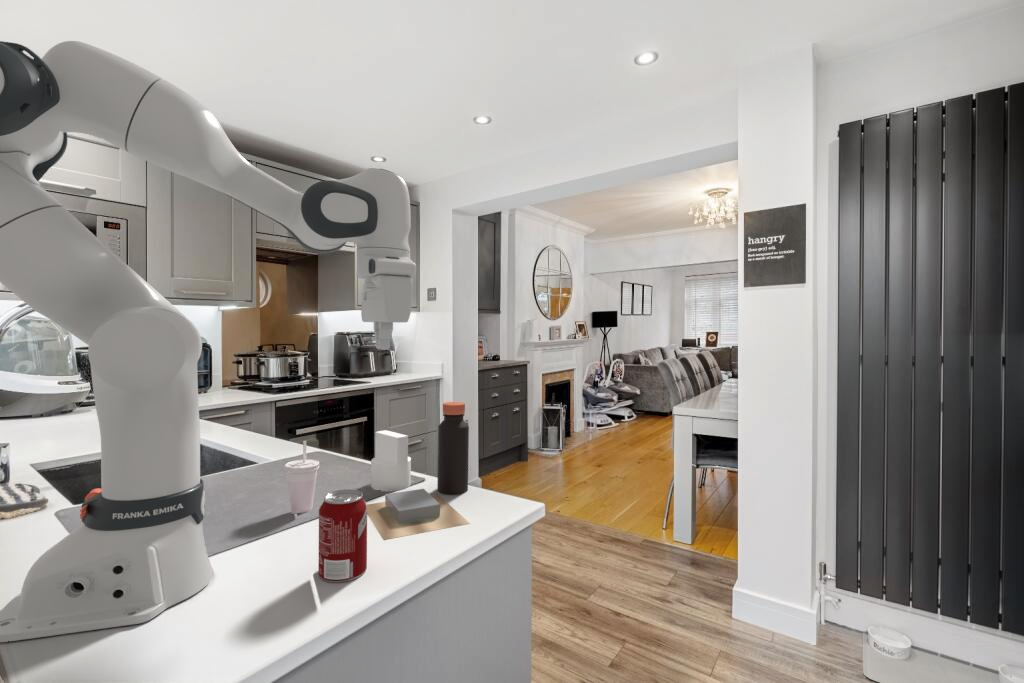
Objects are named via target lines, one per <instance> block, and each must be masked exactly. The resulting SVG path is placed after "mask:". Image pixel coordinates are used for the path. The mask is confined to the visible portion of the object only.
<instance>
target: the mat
mask: <svg viewBox="0 0 1024 683" xmlns="http://www.w3.org/2000/svg"><path fill="white" fill-rule="evenodd" d="M430 495H431V496H432V497H433V498H434V499H435V500H436V501H437V502H438V503H439V504H440V516H439V517H437V518H431V519H426V520H420V521H414V522H409V523H403V524H399V523H398V522H397V521H396V520H395V518H394V517H393V516H392V514H391V513H390V512H389V510H388V509H387V508H386V505H385V501H381V502H376V503H375V502H374V503H373V502H372V503H368V504H367V517H368V518H369V519H370V520H371V522H372V524H373V525H374V527H375V528H376V530H377V531H378V533H379V535H380V537H381V538H382V540H384V541H386V540H391V539H392V540H393V539H396V538H402V537H403V538H404V537H407V536H412V535H417V534H425V533H429V532H433V531H439V530H440V531H441V530H444V529H445V530H446V529H449V528H450V529H451V528H454V527H456V528H457V527H459V526H465V525H470V524H471V523H470V522H469V521H468V520H467V519H466V518H465V517H464V516H463V515H462V514H460V513H459V511H457V510H456V509H455V508H453V507H452V506H451V505H450V504H449V503H448V502H447V501H446V500H445V499H444V498H443V497H442V496H440V495H439V494H438V493H434V494H432V493H431V494H430Z"/></svg>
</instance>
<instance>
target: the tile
mask: <svg viewBox="0 0 1024 683" xmlns="http://www.w3.org/2000/svg"><path fill="white" fill-rule="evenodd" d="M431 495H432V494H430V493H429V492H428V491H427V490H426V489H425V488H419V489H412V490H406V491H405V490H404V491H400V492H399V491H398V492H392V493H385V494H384V498H385V501H384V502H385V505H386V508H387V509H388V510H389V512H390V513H391V514H392V516H393V517H394V518H395V520H396V521H397V522H398V523H399V524H403V523H409V522H414V521H420V520H426V519H431V518H437V517H439V516H440V504H439V503H438V502H437V501H436V500H435V499H434V498H433V497H432V496H431Z"/></svg>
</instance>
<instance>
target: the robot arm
mask: <svg viewBox="0 0 1024 683" xmlns="http://www.w3.org/2000/svg"><path fill="white" fill-rule="evenodd" d="M25 52H26V53H27V54H26V53H25ZM28 54H29V55H30V56H29V55H28ZM32 57H33V58H32ZM68 133H78V134H83V135H84V134H85V135H89V136H93V137H96V138H99V139H103V140H104V141H106V142H108V143H110V144H112V145H113V146H115V147H117V148H119V149H120V150H123V151H125V152H126V153H129V154H131V155H133V156H135V157H137V158H139V159H141V160H144V161H146V162H147V163H150V164H152V165H155V166H156V167H160V168H162V169H164V170H167V171H169V172H172V173H174V174H177V175H179V176H182V177H184V178H186V179H189V180H191V181H194V182H197V183H199V184H201V185H204V186H206V187H208V188H211V189H213V190H215V191H217V192H220V193H223V194H224V195H226V196H228V197H230V198H232V199H234V200H235V201H237V202H239V203H241V204H243V205H245V206H246V207H249V209H252V210H254V211H256V212H258V213H260V214H262V215H263V216H265V217H267V218H269V219H270V220H273V221H275V222H276V223H278V224H279V225H280V226H281V227H283V228H284V229H285V230H286V232H288V233H289V235H291V236H292V238H294V240H295V241H296V242H297V243H298V244H299V245H300V246H302V247H303V248H305V249H306V250H308V251H309V252H312V253H316V254H321V255H322V254H324V255H325V254H326V255H327V254H332V253H334V252H337V251H339V250H341V249H342V248H343V247H344V246H345V245H346V244H347V243H353V244H355V245H356V277H357V278H359V279H361V280H364V283H363V286H362V290H361V291H362V293H361V311H360V312H361V320H362V322H363V323H373V332H374V333H373V334H374V336H375V348H376V349H377V350H383V351H384V350H386V351H387V350H390V349H391V340H392V334H393V330H394V323H408V322H409V319H410V318H411V317H410V316H411V313H412V302H413V290H414V289H413V286H414V285H413V284H414V283H413V278H414V277H416V274H417V265H416V263H415V262H414V261H413V259H411V247H410V244H409V234H410V231H411V228H412V227H411V226H412V223H411V219H412V218H411V211H412V210H411V199H410V198H411V197H410V192H409V187H408V185H407V183H406V181H405V180H404V179H403V178H402V177H400V175H398V174H396V173H394V172H393V171H390V170H386V169H384V168H373V167H372V168H371V167H370V168H365V169H364V170H363V171H361V172H360V173H357V174H355V175H353V176H350V177H346V178H341V179H334V180H330V179H329V180H321V181H317V182H315V183H313V184H312V185H311V186H309V187H308V188H307V189H306V190H305V191H304V193H303V192H300V191H297V190H295V189H294V188H291V187H290V186H289V185H286V184H285V183H283V182H282V181H281V180H278V179H277V178H275V177H273V176H271V175H270V174H268V173H267V172H264V171H263V170H261V169H260V168H258V167H257V166H255V165H253V164H252V163H251V162H249V161H248V160H247V159H246V158H245V157H244V156H243V155H242V154H241V153H240V152H239V150H238V149H237V148H236V147H235V146H234V144H233V143H232V141H231V140H230V138H229V137H228V135H227V133H226V132H225V130H224V128H223V126H222V125H221V123H220V121H219V120H218V119H217V117H216V115H214V113H213V112H212V111H211V110H210V109H208V108H207V107H205V105H203V104H202V103H200V102H199V101H198V100H197V99H195V98H194V97H192V96H191V95H190V94H188V93H187V92H186V91H184V90H182V89H181V88H179V86H176V85H174V84H173V83H172V82H171V83H170V82H169V81H167V80H165V79H163V78H162V77H160V76H158V75H156V74H155V73H153V72H151V71H149V70H147V69H145V68H144V67H141V66H140V65H138V64H136V63H133V62H131V61H129V60H127V59H125V58H123V57H120V56H118V55H116V54H113V53H111V52H109V51H106V50H104V49H101V48H99V47H96V46H94V45H91V44H88V43H85V42H82V41H77V40H66V41H62V42H59V43H57V44H55V45H54V46H52V47H50V48H49V49H48V51H46V53H44V55H43V56H42V58H41V57H40V56H39V55H38V54H37V53H35V52H34V51H33V50H31V49H30V48H29V47H28V46H24V45H23V44H20V43H16V42H9V41H1V40H0V283H1V285H3V286H4V287H6V288H7V289H8V290H9V291H10V292H11V293H13V294H14V295H16V296H17V297H18V298H19V299H20V300H21V301H22V302H24V303H25V304H26V305H27V306H28V307H30V308H31V309H32V310H33V311H35V312H36V313H38V314H40V315H42V316H44V317H45V318H47V319H48V320H50V321H52V322H53V323H55V324H56V325H58V326H60V327H61V328H62V329H64V330H65V331H67V332H69V333H70V334H72V335H73V336H74V337H76V338H77V339H78V340H80V341H81V342H83V343H84V344H86V345H87V346H88V349H87V355H88V356H87V357H88V360H89V364H90V373H91V374H90V375H91V383H92V384H91V385H92V391H93V399H94V404H95V410H96V416H97V420H98V427H99V433H100V462H101V463H100V469H101V470H100V471H101V472H100V474H101V475H100V476H101V477H100V478H101V479H100V480H101V481H100V482H101V484H100V485H101V488H100V487H99V488H94V489H92V490H90V491H89V493H88V494H87V495H86V496H85V497H84V502H83V503H82V504H81V509H79V511H80V514H79V518H80V520H81V523H82V524H81V525H80V526H78V527H77V528H76V529H74V530H73V531H72V532H70V533H69V534H68V535H66V536H65V537H64V538H62V539H61V540H60V541H58V542H57V543H56V544H54V545H53V546H52V547H50V548H49V549H47V550H46V551H45V552H44V553H43V554H41V555H40V556H39V558H38V559H36V561H34V563H33V564H32V566H31V567H30V568H29V570H28V572H27V574H26V576H25V579H24V581H23V584H22V587H21V592H20V593H19V594H17V595H15V597H14V598H12V599H11V600H10V601H9V602H8V603H7V604H6V605H5V606H4V607H3V608H2V609H1V611H0V643H8V641H9V642H14V641H21V640H30V639H36V638H37V639H38V638H42V637H43V638H45V637H52V636H58V635H67V634H73V633H80V632H81V633H82V632H87V631H94V630H95V631H96V630H102V629H109V628H117V627H123V626H131V625H138V624H142V623H146V622H148V621H150V620H152V619H153V618H155V617H156V616H158V615H159V614H162V613H163V612H164V611H165V610H166V609H168V608H170V607H172V606H174V605H176V604H178V603H180V602H183V601H184V600H186V599H189V598H190V597H192V596H194V595H195V594H197V593H198V592H200V591H201V590H203V589H205V587H207V585H208V584H209V583H210V582H211V581H212V579H213V577H214V574H215V573H214V570H213V566H212V564H211V561H210V559H209V554H208V551H207V547H206V545H207V544H206V542H205V541H206V540H205V537H204V536H205V535H204V528H203V520H204V517H205V514H206V513H205V509H206V498H205V497H206V495H205V494H206V493H205V488H204V480H203V479H202V478H201V422H200V406H199V405H200V403H199V384H198V362H199V360H200V358H201V356H202V355H201V354H202V351H203V341H202V337H201V334H200V332H199V330H198V329H197V327H196V326H195V324H194V323H193V322H192V321H191V320H190V319H189V318H187V317H186V315H184V314H183V313H182V312H181V311H180V310H179V309H178V308H176V306H174V304H172V303H171V302H170V301H169V300H167V299H166V298H165V297H164V296H163V295H162V294H161V293H160V292H158V291H157V289H155V288H154V287H153V286H152V285H151V284H149V283H148V281H146V280H145V279H144V278H143V277H141V276H140V275H139V274H138V273H137V272H136V271H135V270H134V269H132V267H130V266H129V265H128V264H127V263H125V261H123V260H122V259H121V258H120V257H119V256H118V255H117V254H116V253H114V252H113V251H112V249H110V248H109V247H108V246H107V245H106V244H105V243H103V242H102V241H101V240H100V239H99V238H98V237H97V236H96V235H95V234H94V233H93V232H92V231H90V230H89V228H88V227H86V226H85V225H84V224H83V223H82V222H81V221H80V220H79V219H78V218H77V217H76V216H74V215H73V214H72V213H71V212H70V211H69V210H68V209H67V208H66V207H65V206H64V205H62V204H61V203H60V202H59V201H58V200H57V199H56V198H55V197H54V196H53V195H52V194H51V193H49V192H48V191H47V190H46V189H45V188H44V187H43V186H42V185H41V183H40V182H39V181H40V180H41V179H42V178H43V177H44V176H45V174H46V173H47V172H48V171H49V169H50V168H52V167H53V166H55V165H56V164H57V163H58V162H59V161H60V160H61V159H62V157H63V155H64V154H65V153H66V151H67V146H68ZM16 296H15V297H16Z"/></svg>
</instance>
